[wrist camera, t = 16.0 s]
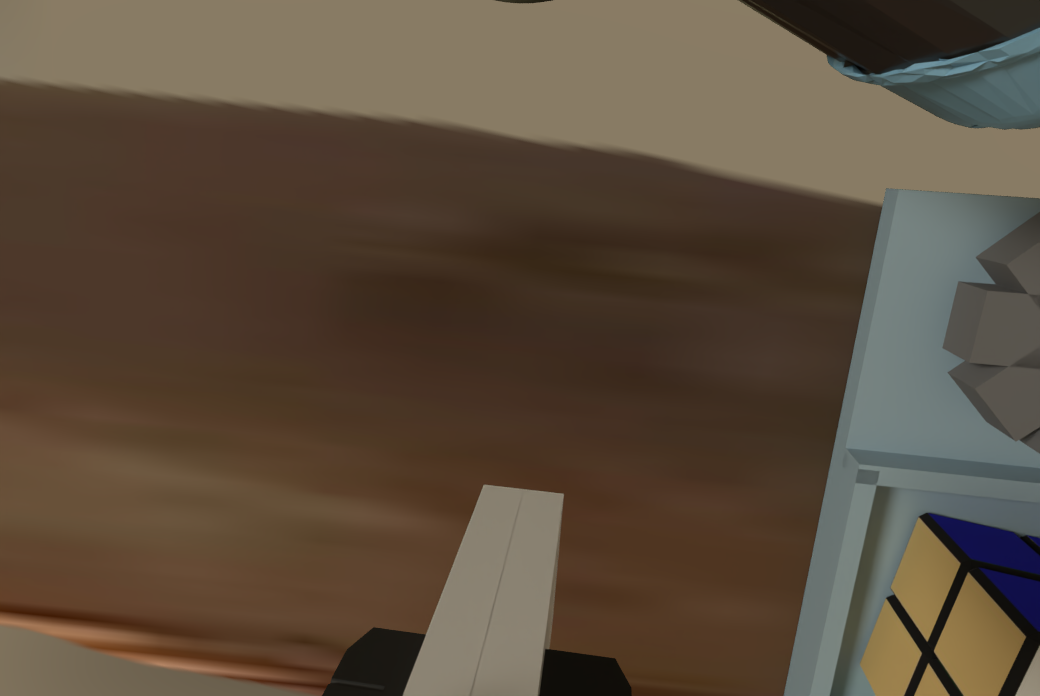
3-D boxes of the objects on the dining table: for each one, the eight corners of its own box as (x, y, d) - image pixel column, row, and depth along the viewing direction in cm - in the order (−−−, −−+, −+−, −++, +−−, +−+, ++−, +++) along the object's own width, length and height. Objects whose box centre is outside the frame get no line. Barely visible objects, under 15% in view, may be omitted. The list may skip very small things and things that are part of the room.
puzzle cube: (1116, 552, 35) (1312, 700, 25) (1038, 708, 37) (1188, 896, 28) (917, 507, 35) (1033, 635, 26) (855, 664, 38) (939, 832, 28)
